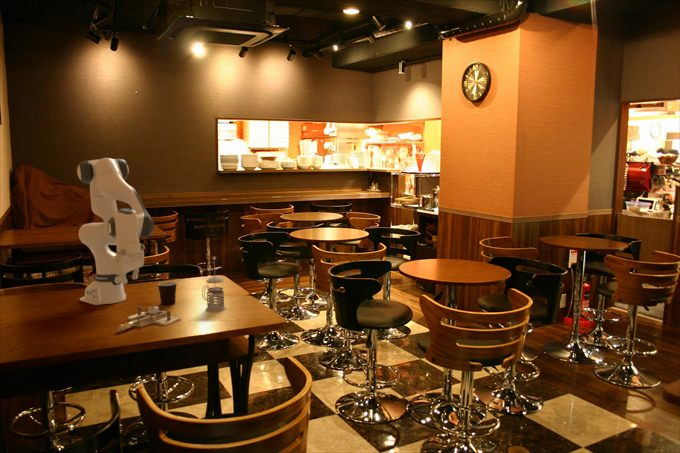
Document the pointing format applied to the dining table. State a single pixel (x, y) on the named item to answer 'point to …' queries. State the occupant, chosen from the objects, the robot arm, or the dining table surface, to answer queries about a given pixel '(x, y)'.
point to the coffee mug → (167, 293)
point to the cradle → (153, 318)
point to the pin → (127, 325)
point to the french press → (214, 295)
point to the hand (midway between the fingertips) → (129, 281)
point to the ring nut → (153, 310)
